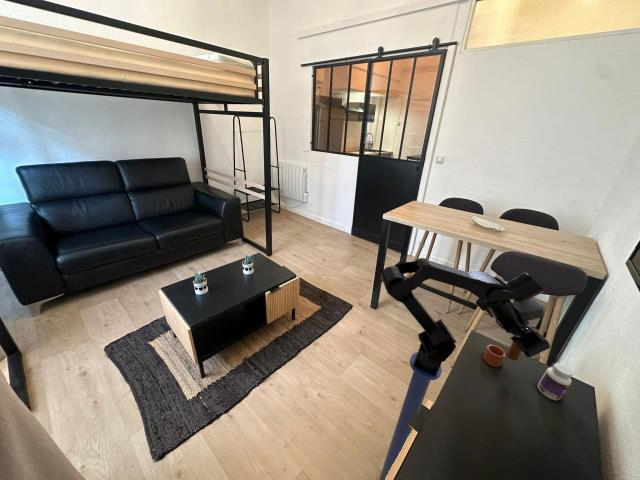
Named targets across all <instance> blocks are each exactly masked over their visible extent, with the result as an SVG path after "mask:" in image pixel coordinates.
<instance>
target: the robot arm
mask: <svg viewBox="0 0 640 480" xmlns="http://www.w3.org/2000/svg"><path fill="white" fill-rule="evenodd" d="M405 274H412V275H411V276H409V277H407V278H406V277H405ZM380 278H381V281H382V283H383V286H384V289H385V290H386V293H387V294H388V295H389V296H390V297H391V298H393V299H394V300H395V301H397V302H399V303H401V304H403V306H404V307H405V308H406V309H407V310H408V312H409V313H410V314H411V316H412V317H413V318H414V319H415V320H416V321H417V323H418V324H419V325H420V327H421V328H422V329H423V331H421V332H419V333H418V334H417V337H418V341H419V342H420V344H419V348H418V350H417V351H416V352H417V356H416V359H415V362H414V367H416V368H418V369H420V370H422V371H424V372H426V373H428V374H430V375H432V376H436V372H437V371H439V369H440V366H441V367H442V363H444V362H445V361H447V359H448V358H449V357H450V356H451V355H452V354H453V353H454V351H455V349H457V345H456V343H457V340H456V338H455V337H454V335H453V334H452V332H451V331H450V329H449V327H448V326H447V324H445V323H444V322H443V320H442V318H440V319H439V320H435V319H434V318H433V317H432V315H431V314H430V313H429V311H428V310H427V309H426V308H425V306H424V305H423V304H422V302H421V301H420V300H419V299H418V297H417V296H416V295H415V293H414V292H413V291H415V290H416V289H417V288H418V287H420V285H422V284H423V283H424V282H425V281H428V280H431V281H434V282H435V281H436V282H438V283H441V284H445V285H449V286H452V287H456V288H459V289H463V290H466V291H467V292H469V293H471V294H472V295H474V296H475V297H477V298H478V299H477V300H476V301H475V305H477V306H478V308H480V310H481V311H482V312H486V314H488V316H489V317H490V318H494V319H495V323H496V324H497V325H498V326H499V328H500V329H502V330H504V332H506V333H507V334H511V335H512V336H511V337H510V340H511V341H512V342H514V343H515V344H516V345H517V346H518V347H519V348H520V350H521V351H522V352H521V353H522V354H524V356H526V357H527V358H533V357H534V356H536V355H539V354H540V353H542V352H545V351H546V350H550V349H551V343H550V342H549V341H548V340H547V339H546V337H544V336H543V335H542V334H541V333H540V332H539V331H537V330H534V329H532V328H529V327H528V326H526V325H528V324H531V323H530V321H534V320H537V319H538V320H539V319H543V318H544V317H545V309H544V308H545V307H544V305H542V304H540V303H539V301H537V300H535V299H534V298H535V297H537V296H539V295H540V294H543V293H544V291H545V290H544V289H543V287H542V286H541V285H540V284H538V282H537V281H536V280H534V278H533V277H532V275H530V274H529V273H527V272H526V271H523V272H522V273H521V274H519V275H518V276H516V277H514V278H512V279H511V280H509V281H507V282H505V281H504V280H503V279H502V278H501V277H499V276H498V277H497V276H494V275H491V274H490V273H488V272H485V271H477V270H474V271H473V270H472V271H464V270H462V269H458V268H455V267H452V266H449V265H445V264H442V263H438V262H435V261H432V260H430V259H428V258H425V257H420V258H418V259H414V260H412V261H411V260H410V261H402V262H398V263H396V264H394V265H390V266H387V267H385V268H383V270H382V271H381V274H380ZM512 301H513V302H512ZM523 325H525V326H523ZM415 365H416V366H415Z"/></svg>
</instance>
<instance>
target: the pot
mask: <svg viewBox="0 0 640 480" xmlns="http://www.w3.org/2000/svg"><path fill="white" fill-rule="evenodd" d="M505 357H506V352H505V351H504V349H503V348H501V347H499V346H498V345H496V344H488V345H487V346H486V348H485V351H484V353H483V355H482V360H483V361H484V362H485V363H486V364H487V365H489V366H491V367H494V368H499V367H500V366H501V365H502V363H503V361H504V359H505Z"/></svg>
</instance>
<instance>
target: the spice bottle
mask: <svg viewBox="0 0 640 480" xmlns="http://www.w3.org/2000/svg"><path fill="white" fill-rule="evenodd" d="M523 326H525V325H523ZM526 326H528V327H529V328H532V329H533V328H534V325H533V324H532V323H530V324H528V325H526ZM533 330H534V329H533ZM522 353H523V352H522V351H521V350H520V348H519V347H518V346H517V345H516V344H515V343H514V342H513V341H512V342H511V345H510V346H509V348H508V350H507V352H506V356H507V358H508V359H510V360H512V361H518V359H519V357H520V355H521V354H522Z"/></svg>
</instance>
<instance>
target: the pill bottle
mask: <svg viewBox="0 0 640 480" xmlns="http://www.w3.org/2000/svg"><path fill="white" fill-rule="evenodd" d="M573 372H574V371H572V369H571V368H570V367H569V366H566V365H565V364H563V363H560V362H555V363H554V364H553V365H552V366H551V367H548V368H547V369H546V370H545V371H544V373H543V375H542V377H541V378H540V380H539V381H538V383H537V389H538V390H539V392H540V393H541V394H542V395H543V396H545V397H546V398H548V399H550V400H552V401H559V400H561V399H562V397H563V396H564V394H566V391H567V390H568V389H569V387H570V386H571V385H572V379H571V378H572V377H573V374H574V373H573Z"/></svg>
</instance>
